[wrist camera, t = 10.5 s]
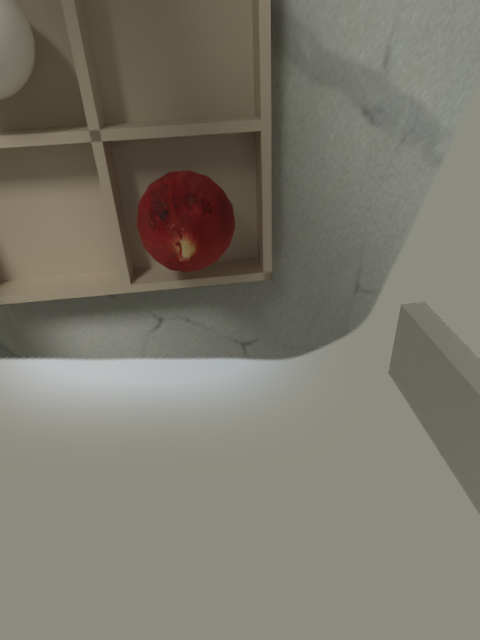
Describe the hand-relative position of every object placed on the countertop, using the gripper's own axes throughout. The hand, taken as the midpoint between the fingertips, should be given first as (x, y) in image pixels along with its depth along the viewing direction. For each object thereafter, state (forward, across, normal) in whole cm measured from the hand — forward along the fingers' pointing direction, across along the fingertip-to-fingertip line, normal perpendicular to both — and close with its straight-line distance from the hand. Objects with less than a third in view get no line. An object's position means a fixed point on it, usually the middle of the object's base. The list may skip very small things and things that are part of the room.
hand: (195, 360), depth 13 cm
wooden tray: (+19, -5, +4) cm, 20 cm away
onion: (+18, 0, -1) cm, 18 cm away
